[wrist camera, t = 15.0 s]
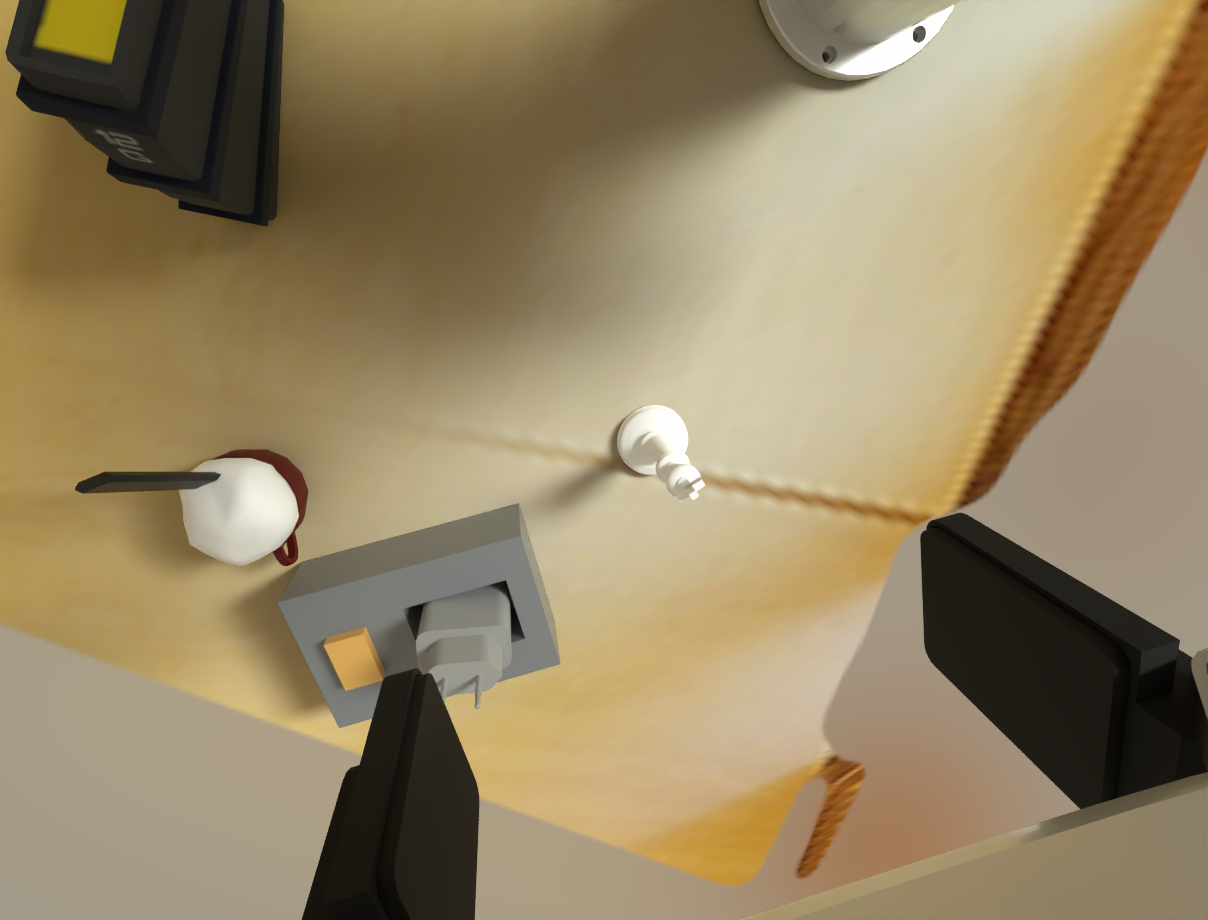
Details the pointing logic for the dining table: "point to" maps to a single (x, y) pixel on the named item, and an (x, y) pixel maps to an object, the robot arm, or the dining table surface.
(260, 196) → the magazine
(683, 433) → the chess piece
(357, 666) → the socket block
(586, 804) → the dining table surface
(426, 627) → the power adapter
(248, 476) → the cocoa
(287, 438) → the dining table surface
